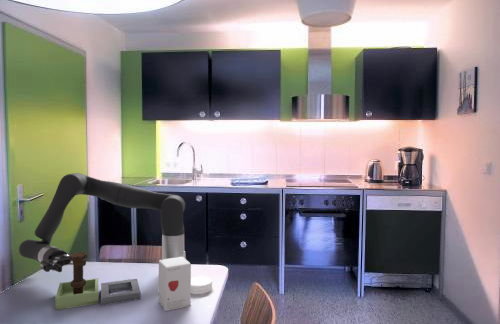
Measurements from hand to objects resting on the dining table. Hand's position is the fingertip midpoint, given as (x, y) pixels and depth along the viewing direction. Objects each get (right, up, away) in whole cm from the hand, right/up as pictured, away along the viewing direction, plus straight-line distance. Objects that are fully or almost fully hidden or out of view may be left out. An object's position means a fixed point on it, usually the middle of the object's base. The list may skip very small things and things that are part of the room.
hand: (73, 266), depth 129 cm
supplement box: (+38, -12, -5) cm, 40 cm away
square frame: (+16, -11, +2) cm, 20 cm away
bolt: (+2, -10, -1) cm, 11 cm away
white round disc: (+44, -11, +8) cm, 46 cm away
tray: (+2, -11, -1) cm, 12 cm away
